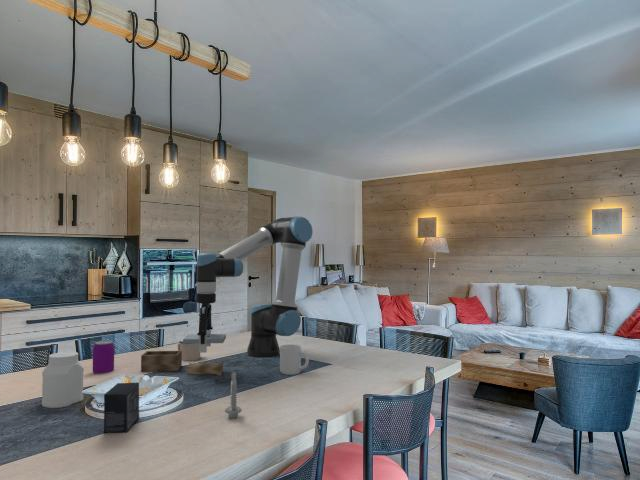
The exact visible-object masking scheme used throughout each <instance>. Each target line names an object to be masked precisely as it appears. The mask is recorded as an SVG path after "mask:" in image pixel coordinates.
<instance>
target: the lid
mask: <svg viewBox="0 0 640 480" xmlns="http://www.w3.org/2000/svg"><path fill="white" fill-rule="evenodd" d="M206 335H207V343H211V344H224V342H225V341H226V339H227V334H225V333H221V334H220V333H219V334H217V333H215V334H213V333H211V334H206ZM182 339H183V338H182ZM186 343H199V335H197V333H195V334H193V333H188V334H187V335H186V336H185V337H184V339H183V344H186Z"/></svg>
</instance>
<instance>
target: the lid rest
mask: <svg viewBox="0 0 640 480" xmlns="http://www.w3.org/2000/svg"><path fill="white" fill-rule="evenodd" d="M223 371H224V362H201V363H200V362H197V363H196V362H193V363H191V362H190V363H189V364H188V365H187V366H186V375H216V376H217V377H220V376H222V375H223Z"/></svg>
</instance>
